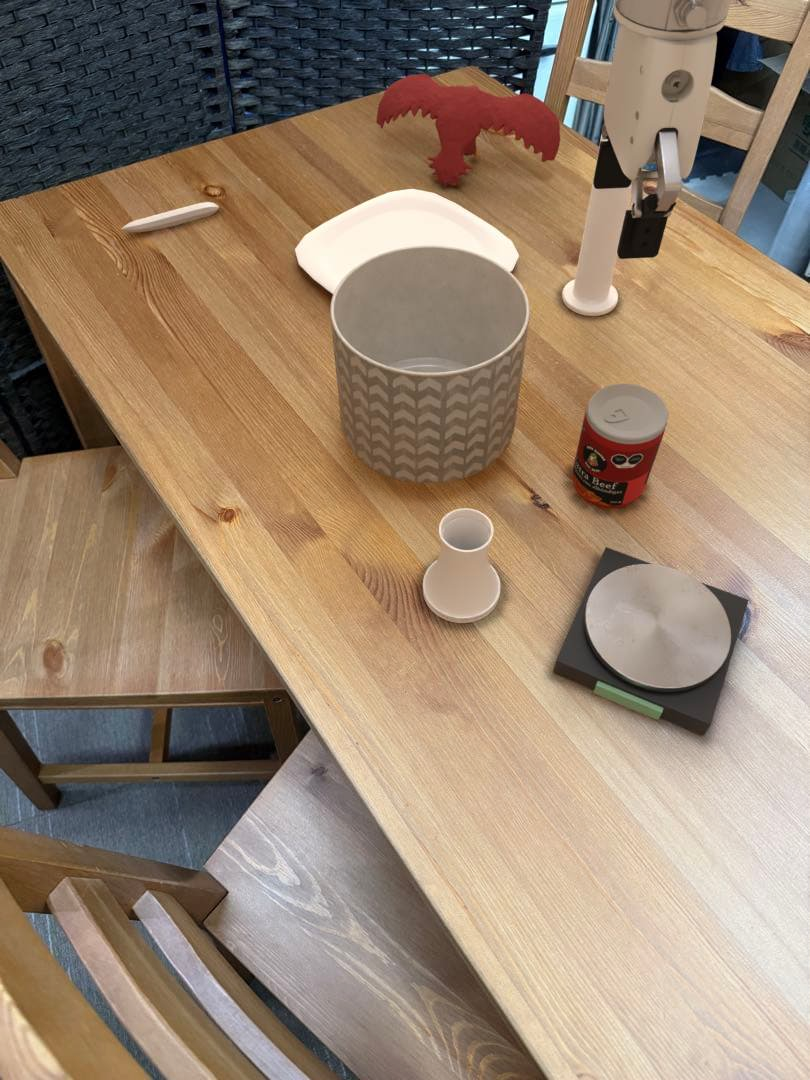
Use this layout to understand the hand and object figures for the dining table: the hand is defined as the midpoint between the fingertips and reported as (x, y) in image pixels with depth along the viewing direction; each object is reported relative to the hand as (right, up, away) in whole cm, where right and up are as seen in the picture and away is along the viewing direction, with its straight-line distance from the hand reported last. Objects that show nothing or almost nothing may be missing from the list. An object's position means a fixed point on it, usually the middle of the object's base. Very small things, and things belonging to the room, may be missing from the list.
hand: (623, 219), depth 71 cm
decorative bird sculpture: (-10, +29, +57) cm, 65 cm away
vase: (-13, -32, +13) cm, 36 cm away
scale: (+5, -36, +9) cm, 38 cm away
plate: (-18, +11, +44) cm, 49 cm away
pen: (-51, +18, +49) cm, 73 cm away
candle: (+6, +4, +39) cm, 40 cm away
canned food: (+4, -21, +21) cm, 30 cm away
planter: (-16, -15, +25) cm, 33 cm away
